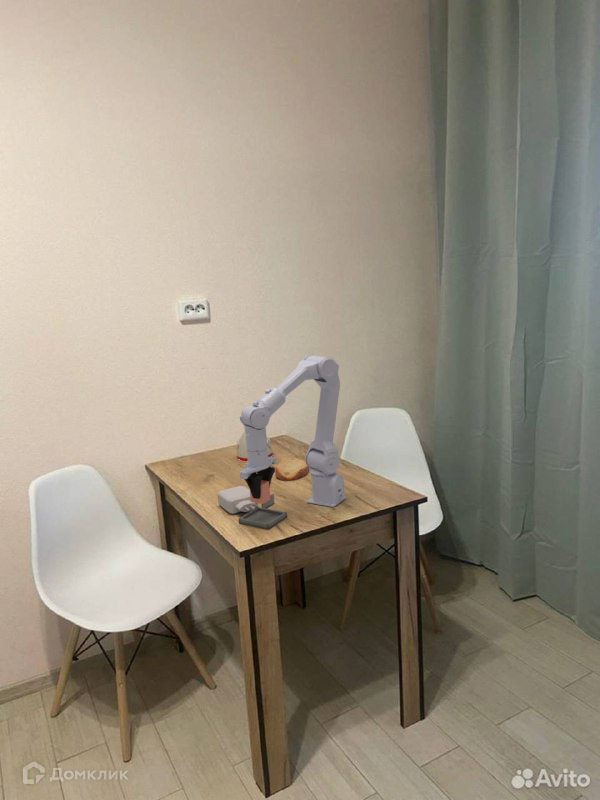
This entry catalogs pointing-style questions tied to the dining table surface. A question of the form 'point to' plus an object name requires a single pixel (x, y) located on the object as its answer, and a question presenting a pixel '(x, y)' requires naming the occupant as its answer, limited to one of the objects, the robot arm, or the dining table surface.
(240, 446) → the kitchen timer
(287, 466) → the bread slice
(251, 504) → the charger
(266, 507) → the bar
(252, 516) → the tray
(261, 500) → the salmon gift carton
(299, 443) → the dining table surface
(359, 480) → the dining table surface
